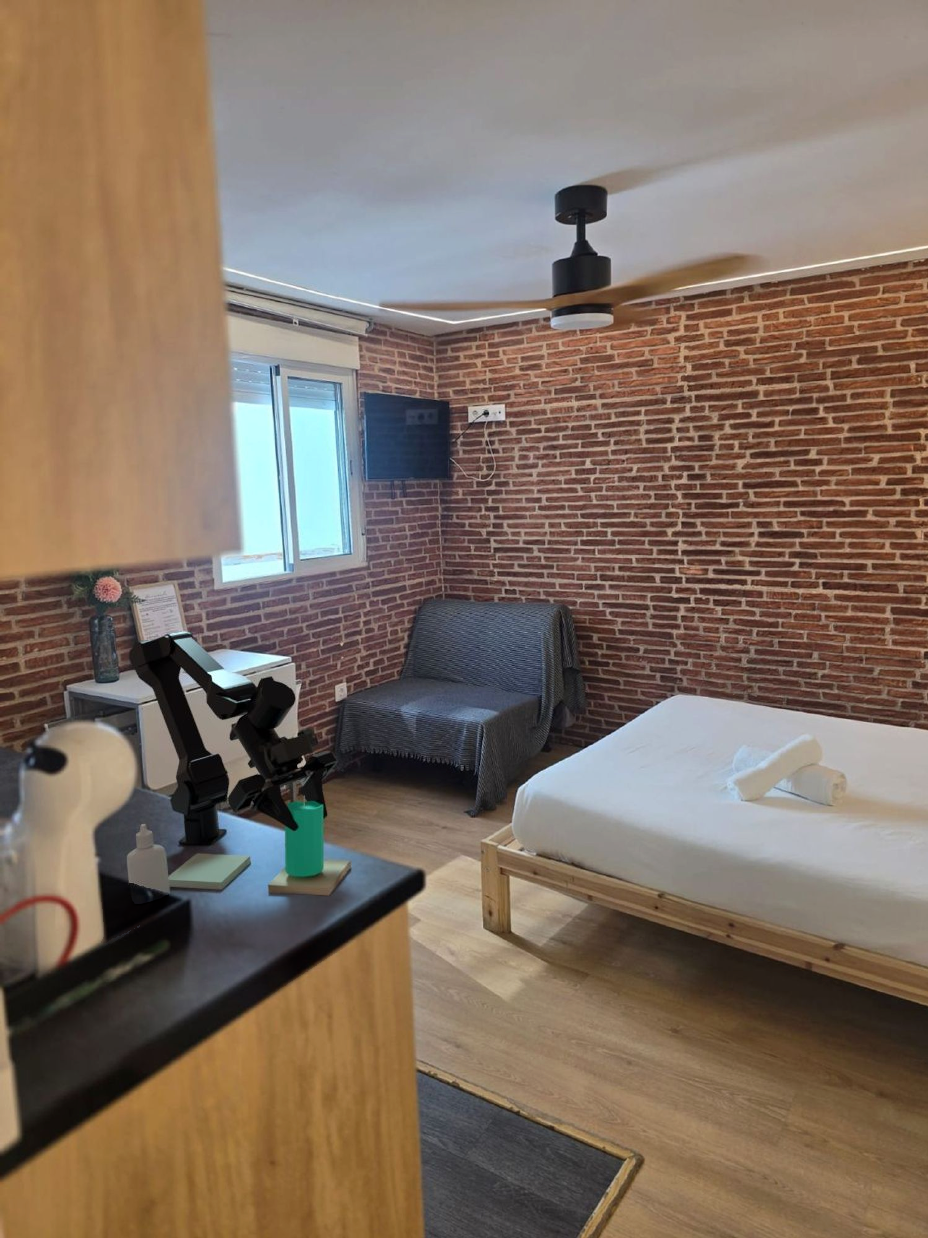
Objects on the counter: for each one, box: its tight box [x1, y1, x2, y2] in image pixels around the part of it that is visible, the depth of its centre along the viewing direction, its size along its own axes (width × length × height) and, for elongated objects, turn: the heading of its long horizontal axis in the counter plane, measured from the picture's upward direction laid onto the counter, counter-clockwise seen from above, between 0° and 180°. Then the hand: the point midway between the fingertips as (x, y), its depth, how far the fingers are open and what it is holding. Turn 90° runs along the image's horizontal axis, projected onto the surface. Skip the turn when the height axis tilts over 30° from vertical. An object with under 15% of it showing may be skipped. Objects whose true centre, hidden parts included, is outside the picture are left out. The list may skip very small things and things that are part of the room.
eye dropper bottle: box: [126, 823, 171, 894], centre depth 127 cm, size 4×6×12 cm
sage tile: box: [168, 853, 251, 891], centre depth 136 cm, size 10×10×1 cm
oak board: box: [267, 858, 352, 896], centre depth 132 cm, size 10×10×1 cm
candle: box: [284, 796, 325, 877], centre depth 131 cm, size 6×6×12 cm
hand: (311, 823), depth 130 cm, fingers closed on candle, 6 cm apart
